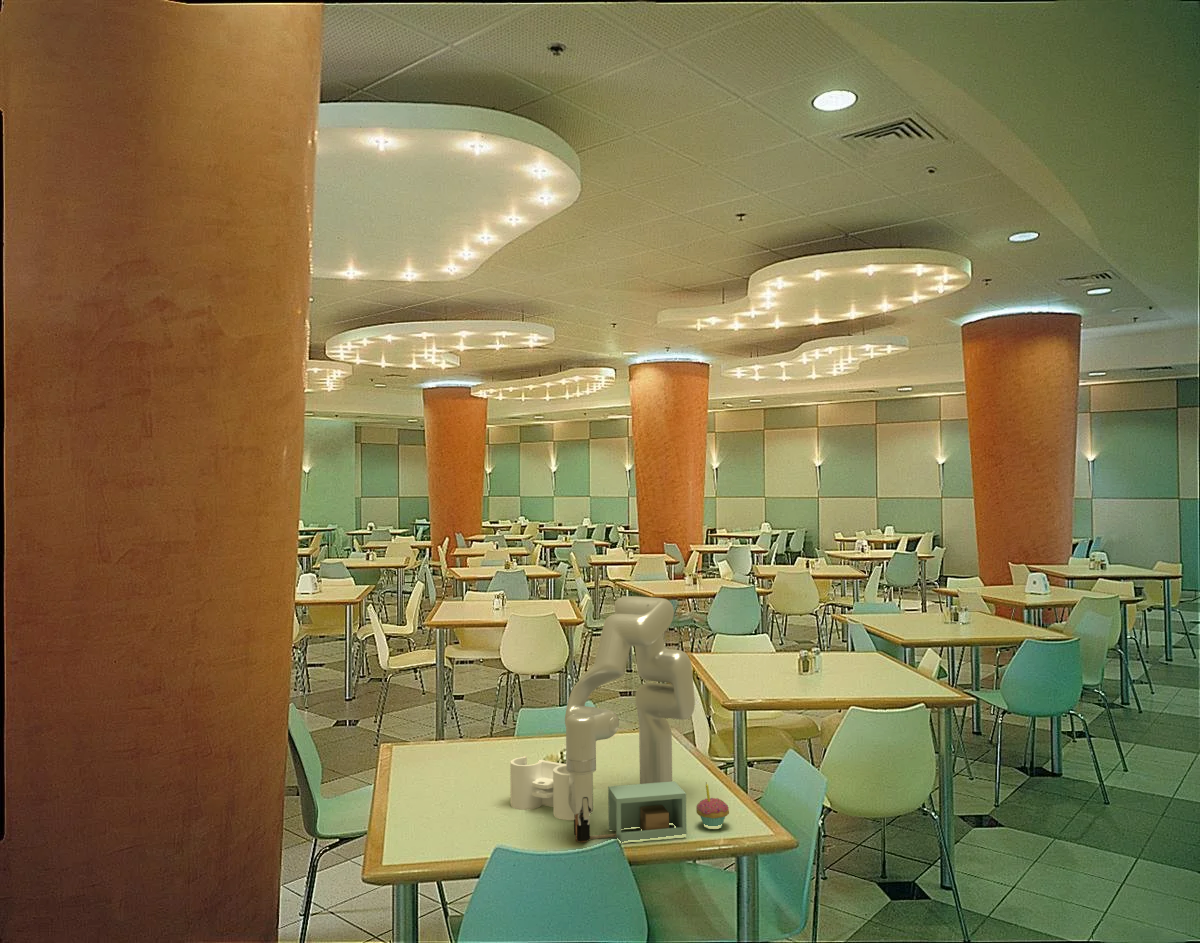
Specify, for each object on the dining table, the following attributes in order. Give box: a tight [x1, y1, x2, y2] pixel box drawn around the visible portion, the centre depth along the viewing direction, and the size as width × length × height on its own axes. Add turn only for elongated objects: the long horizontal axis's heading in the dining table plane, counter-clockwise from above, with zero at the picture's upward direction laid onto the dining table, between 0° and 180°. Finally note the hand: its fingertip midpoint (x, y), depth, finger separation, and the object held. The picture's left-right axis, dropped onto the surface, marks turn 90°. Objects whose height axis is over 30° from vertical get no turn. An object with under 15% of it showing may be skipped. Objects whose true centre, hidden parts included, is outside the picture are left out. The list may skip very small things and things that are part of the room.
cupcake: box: [695, 781, 730, 826], centre depth 236 cm, size 9×8×12 cm
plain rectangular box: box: [607, 780, 688, 843], centre depth 231 cm, size 10×18×11 cm, turn 102°
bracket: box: [509, 755, 594, 821], centre depth 250 cm, size 25×10×12 cm, turn 59°
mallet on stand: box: [575, 805, 670, 843], centre depth 230 cm, size 6×24×7 cm, turn 102°
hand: (581, 836), depth 227 cm, fingers closed on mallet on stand, 3 cm apart
